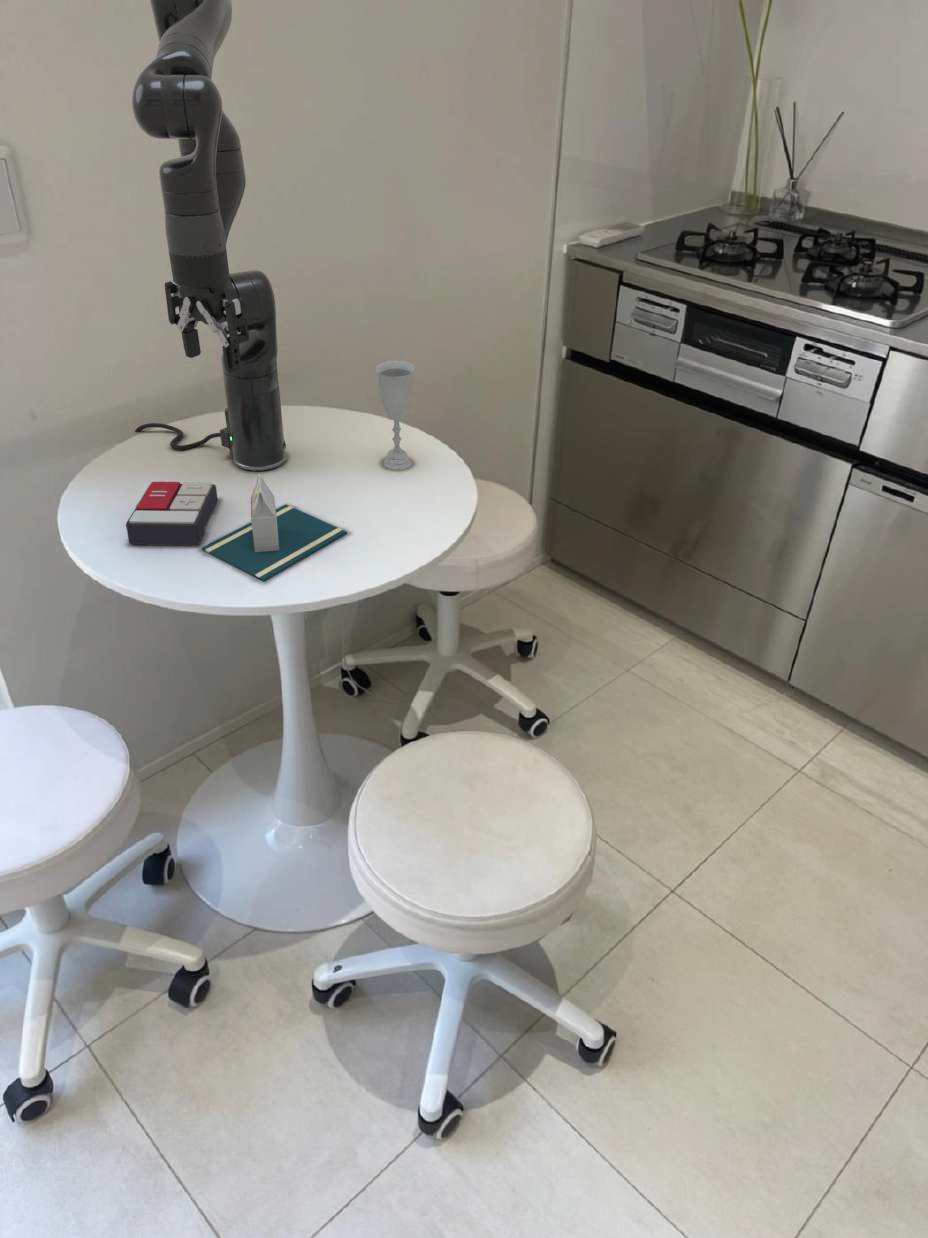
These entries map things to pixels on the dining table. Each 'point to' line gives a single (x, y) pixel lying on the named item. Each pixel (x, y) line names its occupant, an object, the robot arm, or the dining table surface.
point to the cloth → (295, 543)
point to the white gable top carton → (264, 518)
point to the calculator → (172, 513)
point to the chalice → (396, 404)
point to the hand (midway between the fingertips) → (213, 362)
